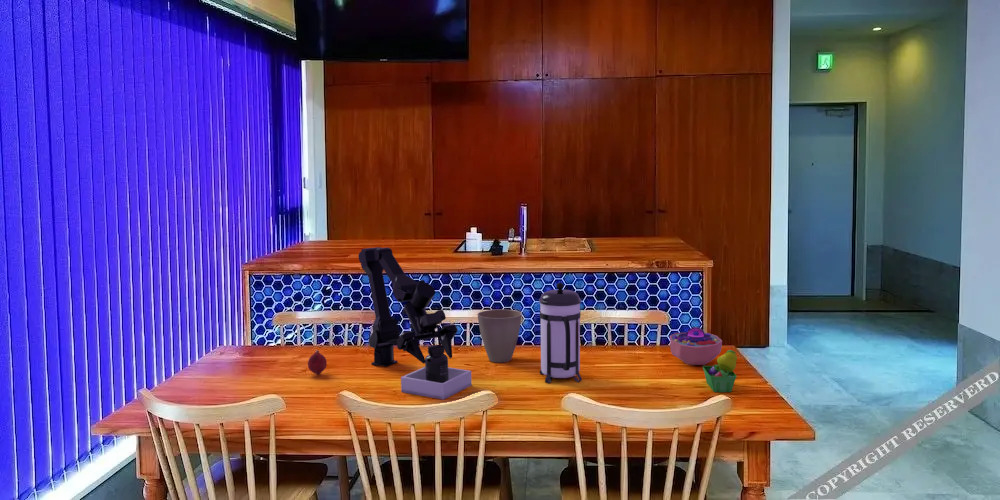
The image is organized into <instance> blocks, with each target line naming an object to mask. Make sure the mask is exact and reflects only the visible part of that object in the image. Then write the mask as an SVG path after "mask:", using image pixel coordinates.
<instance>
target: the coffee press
mask: <svg viewBox="0 0 1000 500" xmlns="http://www.w3.org/2000/svg"><path fill="white" fill-rule="evenodd" d="M564 286H565V285H564V283H563V282H557V284H556V289H550V290H547V291H545V292H543V293H541V296H540V298H539V300H538V302H539V304H540V311H539V318H540V370H539V374H540V375H545V379H544V383H546V384H551V383H552V381H553V379H555V378H556V379H567V378H572V379H574V381H575V382H576V383H579V382H582V380H583V378H582V376H581V374H580V371H581V359H580V358H581V350H580V349H581V344H580V343H581V338H580V337H581V335H580V334H581V322H580V321H581V315H582V314H581V303H582V298H580V296H579V293H577V292H576V291H573V290H571V289H570V290H569V289H564Z"/></svg>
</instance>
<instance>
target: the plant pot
mask: <svg viewBox="0 0 1000 500" xmlns="http://www.w3.org/2000/svg"><path fill="white" fill-rule="evenodd" d="M522 315H523V313H522V312H521V311H518V310H513V309H488V310H483V311H482V310H481V311H480V312H477V321H478V326H479V332H480V335H481V341H482V343H483V347H484V349H485V353H486V355H487V357H488V360H489V361H490V362H491V363H492V362H493V363H508V362H510V361H511V360H512V357H513V355H514V353H515V349H516V346H517V342H518V338H519V335H520V330H521V322H522Z"/></svg>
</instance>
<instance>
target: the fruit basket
mask: <svg viewBox="0 0 1000 500" xmlns="http://www.w3.org/2000/svg"><path fill="white" fill-rule="evenodd" d="M737 360H738V356H737V352H736V351H734V350H732V349H728V350H727V351H726V352H725V353H723V354H722V355H720V356H718V357H717V359H716V362H717V364H713V365H702V369H703V372H704V377H705V381H706V384H707V385H708V387H709V388H710V389H711V391H713V393H731V392H733V387H734V386H735V385H734V384H735V382H736V379H737V374H736V373H735V372H734V371H735V369H736V366H737Z"/></svg>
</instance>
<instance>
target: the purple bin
mask: <svg viewBox="0 0 1000 500" xmlns="http://www.w3.org/2000/svg"><path fill="white" fill-rule="evenodd" d="M448 375H449V380H448V381H446V382H444V383H438V382H432V381H426V372H425V366H424V367H421V368H419V369H417V370H414V371H412V372H409V373H407V374H405V375H402V376H401V377H400V385H401V386H400V391H401V393H405V394H411V395H417V396H421V397H422V396H423V397H427V398H431V399H432V398H433V399H439V400H446V399H448V398H450V397H451V396H454V395H456V394H458V393H459V392H461V391H463V390H465V389H467V388H469V387H471V386H472V370H469V369H463V368H462V369H461V368H454V367H449V366H448Z"/></svg>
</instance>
